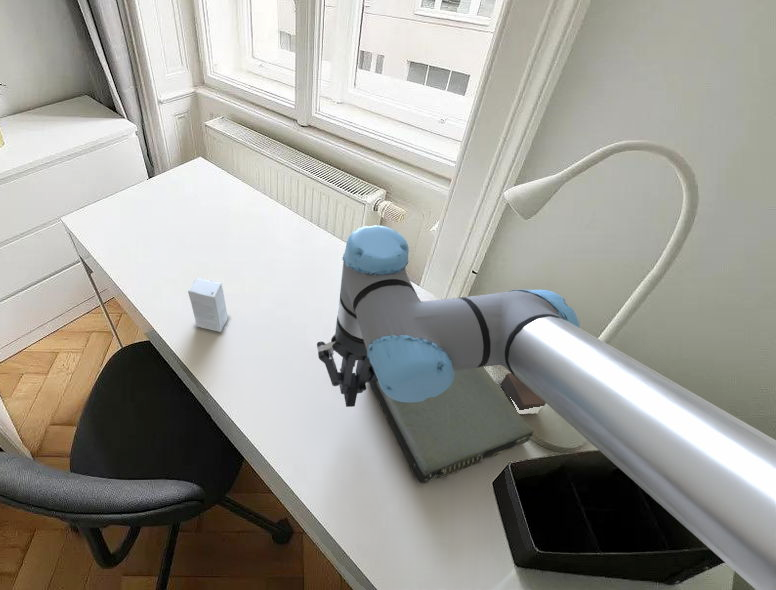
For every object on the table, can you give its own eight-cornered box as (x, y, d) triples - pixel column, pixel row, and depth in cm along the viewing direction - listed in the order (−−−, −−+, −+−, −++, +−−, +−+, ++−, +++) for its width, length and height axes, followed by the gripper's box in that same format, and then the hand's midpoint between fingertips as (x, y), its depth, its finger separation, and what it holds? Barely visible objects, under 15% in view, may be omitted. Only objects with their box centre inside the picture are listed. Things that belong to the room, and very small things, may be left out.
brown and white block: (537, 414, 74) (546, 403, 72) (515, 415, 74) (523, 405, 72) (520, 382, 79) (528, 372, 76) (500, 384, 79) (507, 373, 76)
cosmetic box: (228, 317, 92) (222, 282, 85) (221, 333, 89) (214, 298, 81) (204, 311, 94) (196, 276, 86) (195, 326, 90) (187, 291, 83)
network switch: (429, 504, 64) (436, 493, 61) (349, 376, 81) (351, 362, 77) (536, 438, 71) (547, 426, 68) (442, 333, 88) (448, 319, 84)
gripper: (401, 296, 61) (380, 377, 76) (315, 300, 61) (310, 381, 76) (416, 339, 55) (390, 418, 70) (321, 344, 55) (315, 422, 70)
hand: (349, 399), depth 73 cm, fingers closed
